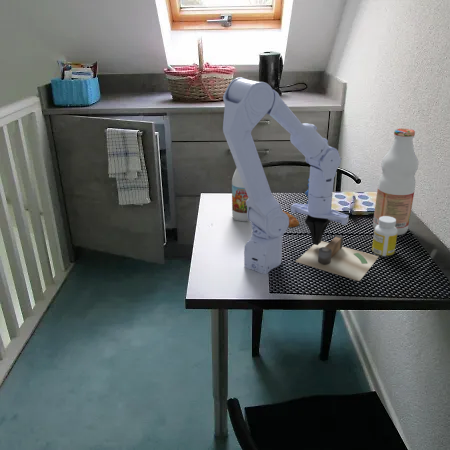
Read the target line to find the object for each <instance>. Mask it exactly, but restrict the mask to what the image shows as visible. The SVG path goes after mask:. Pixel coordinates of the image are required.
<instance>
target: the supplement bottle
mask: <svg viewBox="0 0 450 450" xmlns="http://www.w3.org/2000/svg"><path fill="white" fill-rule="evenodd" d="M378 224H379V225H377V226H376V227H375V229H374V231H373V238H372V239H373V240H372V245H371V251H372V253H374V255H376V256H379V257H392V256H393V255H395V251H396V245H397V240H398V239H397V237H398V235H397V232H398V231H397V228H396V227H395V225H396V219H395V218H393V217H390V216H382V217H380V218H379V221H378Z"/></svg>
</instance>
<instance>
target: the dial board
mask: <svg viewBox="0 0 450 450" xmlns="http://www.w3.org/2000/svg"><path fill="white" fill-rule="evenodd" d="M329 243H330V242H328V241H323V240H321V243H319V244H318V245H315V244H312V246H310V247H309V248H308V249H307V250H306V251H305V252H304V253H303V254H302V255H301V256H300V257H298V258H297V259H296V260H295V263H299V264H302V265H304V266H308V267H312V268H315V269H318V270H320V271H324V272H328V273H331V274H335V275H338V276H341V277H345V278H348V279H350V280H353V281H356V282H360V281H361V280H362V279H363V278H364V276H366V274H367V273H368V271H369V270H370V269H371V267H372V266H373V265H374V263H376V261H377V260H378V258H379V257H380V255H377V254H371V253H368V252H364V251H361V250H357V249H354V248H349V247H345V246H342V248H341V249H340V250H339V251H338V252H337V253H336V254H335V255H334V256H333V257H332V258H331V263H329V264H321V263H319V262H318V255H319V249H320V248H322V247H325V246H326V245H328V244H329Z"/></svg>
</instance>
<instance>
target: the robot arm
mask: <svg viewBox="0 0 450 450" xmlns="http://www.w3.org/2000/svg"><path fill="white" fill-rule="evenodd" d="M226 87H227V88H226V89H225V91H224V93H223V96H222V98H223V99H222V100H223V103H224V109H223V110H224V111H223V123H222V132H223V135H224V138H225V140H226V142H227V145H228V147H229V152H231V156H232V158H233V161H234V164H235V167H236V168H237V169H238V172H239V175H240V177H241V180H242V182H243V185H244V188H245V190H246V193H247V196H248V199H247V201H246V204H247V217H248V219H249V221H248V222H250V223H251V235H250V238H249V240H247V242H246V243H245V245H244V248H243V250H244V251H243V252H244V253H243V254H244V260H243V261H244V262H243V263H244V268H245V269H249V270H252V271H254V272H256V273H257V272H258V273H260V274H263V275H267V274H268V273H269V272H270V271H271V270H273V269H274V268H277V267H279V266H280V265H281V264H282V258H283V257H282V254H283V253H282V252H283V236H284V234H285V233H286V232H287V230H288V228H289V227H288V226H289V218H288V216H287V214H286V213H284V212H283V211H284V210H283V211H282V206H281V204H280V203H279V202H278V201H277V199H276V198H275V197H274V195H273V194H272V191H271V188H270V185H269V182H268V179H267V175H266V173H265V170H264V166H263V164H262V162H261V159H260V156H259V153H258V149H257V146H256V145H255V141H254V138H253V135H252V131H253V129H255V127H256V126H257V125H258V124H259V122H260V121H261V120H262V119H263V118H264V117H265V116H266V115H269V116H270V117H271V118H272V119H273V120H274V121H275V122H277V123H278V124H279V125H280V126H281V127H282V128H283V129H284V130H286V132H288V134H290V135H289V136H290V137H289V141H290V143H291V144H292V145H293V146H294V147H295V148H296V150H298V152H299V153H300V154H302V155H303V156H304V160H305V162H306V164H309V165H310V166H309V167H310V168H309V178H308V179H309V181H308V184H309V188H308V189H309V194H308V197H307V201H308V205H307V203H298V202H297V203H296V202H294V203H293V204H291V206H290V207H291V208H290V212H291V213H292V214H294V213H298V214H302V215H307V216H306V218H305V220H304V221H305V224H306V225H307V228H308V230H309V233H310V237H311V240H312V245H314V244H315V245H318V244H319V243H321V241H322V239H323V236H324V233H325V231H326V229H327V227H328V225H329V224H330V222H332V221H333V222H336V223H340V224H341V225H343V226H346V225H347V224H348V223H349V216H350V215H349V214H345V213H342V212H340V211H338V210H336V209H333V208H332V204H333V203H332V202H333V192H334V182H335V176H336V175H337V170H338V168H339V166H340V165H341V163H342V158H341V157H340V156H341V155H340V153H339V150H338V149H337V148H336V147H334V146H330V145H329V143H328V142H329V140H328V138H325V137H322V135H321V134H320V133H319V131H317V130H318V127H317V126H316V125H315V124H313V123H307V122H304V123H302V122H301V120H300V119H299V118H298V117H297V116H296V114H295V113H294V112H293V111H292V110H291V108H290V107H289V106H288V105H287V104H286V102H285V101H284V100H283V98H281V96H280V94H279V92H277V91H276V90H275V89H273V87H271V85H270V84H269V83H267V82H264V81H257V80H250V79H248V78H245V77H241V76H240V77H236V78H234V79H232V80H231V82H230V83H229V84H228V85H227V86H226Z"/></svg>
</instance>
